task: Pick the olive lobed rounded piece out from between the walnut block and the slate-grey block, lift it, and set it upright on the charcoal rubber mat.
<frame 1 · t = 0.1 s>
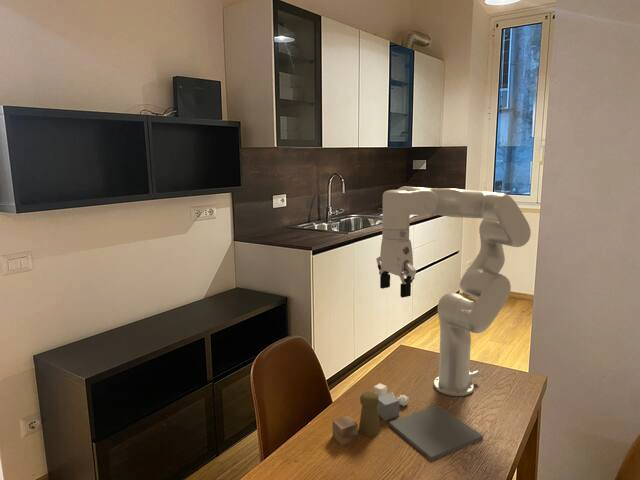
hand: (395, 292, 140), 37 cm above the table, tool pointing down, fingers open, 9 cm apart
slate-grey block: (387, 414, 144), on the table
game pieces: (391, 400, 152), on the table
olive lobed rounded piece: (369, 430, 137), on the table
mat: (434, 431, 135), on the table
walnut block: (345, 438, 133), on the table
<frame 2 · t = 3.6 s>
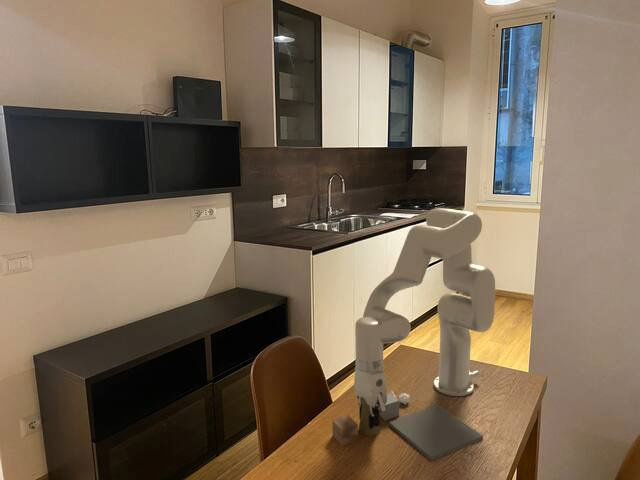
hand: (369, 422, 136), 2 cm above the table, tool pointing down, fingers closed on olive lobed rounded piece, 4 cm apart
olive lobed rounded piece: (369, 430, 137), on the table, touching gripper
when the fingers open (5 cm above the table, at t = 10.0 s): olive lobed rounded piece drops 1 cm, resting on mat.
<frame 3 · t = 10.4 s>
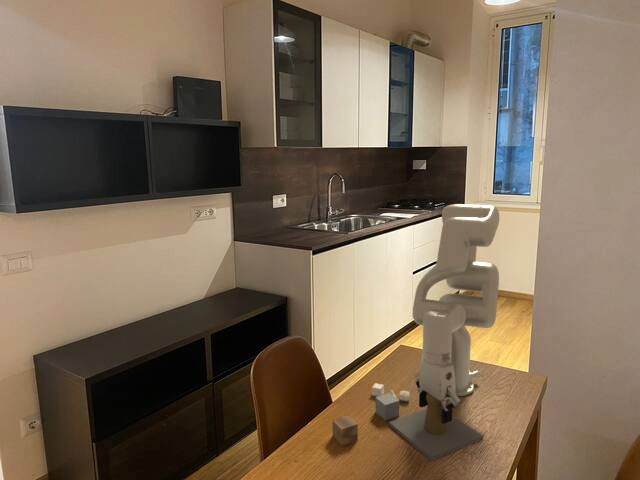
hand: (435, 413, 134), 6 cm above the table, tool pointing down, fingers open, 8 cm apart
olive lobed rounded piece: (435, 429, 135), point 1 cm above the table, touching mat
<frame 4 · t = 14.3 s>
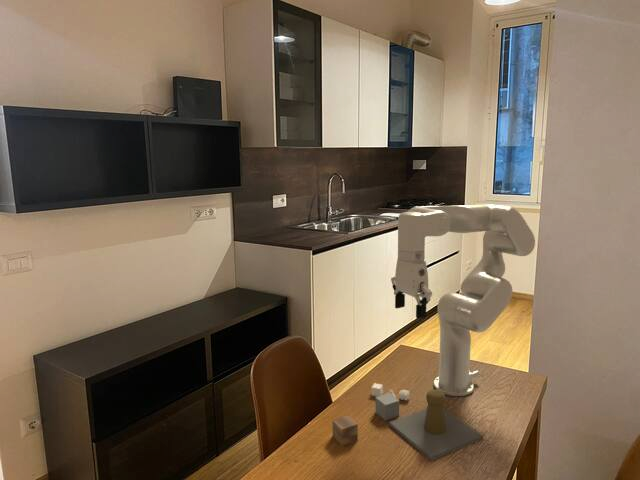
hand: (410, 312, 142), 30 cm above the table, tool pointing down, fingers open, 9 cm apart
at the end: olive lobed rounded piece inside the target area on the mat (0.2 cm from its centre), point 0.8 cm above the mat's base; olive lobed rounded piece tilted 0°; the gripper is holding nothing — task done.
